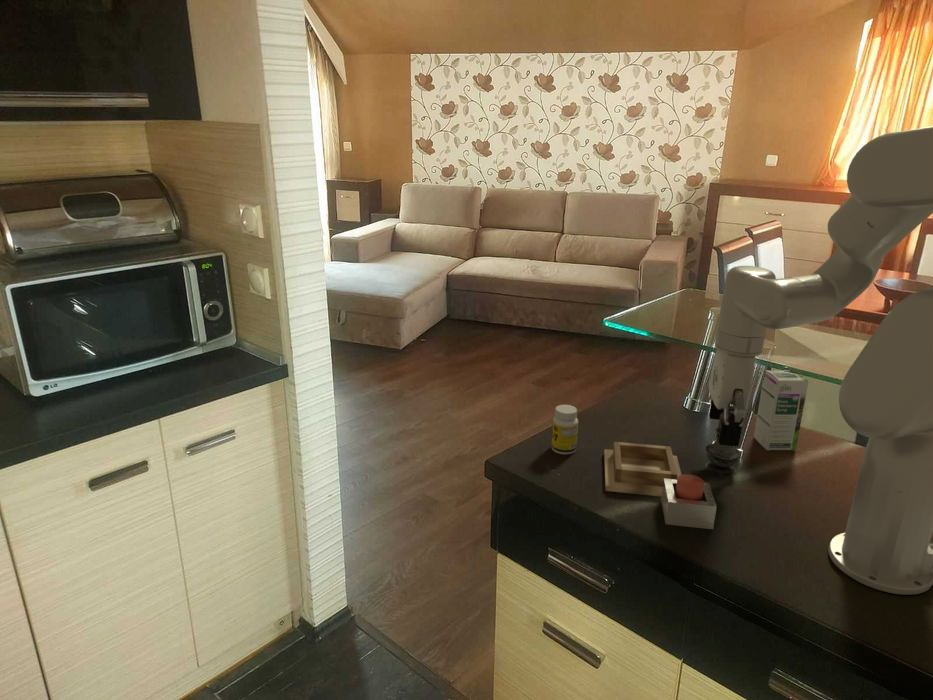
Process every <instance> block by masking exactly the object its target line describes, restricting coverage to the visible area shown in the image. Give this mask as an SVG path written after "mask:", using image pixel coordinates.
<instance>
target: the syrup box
mask: <svg viewBox="0 0 933 700" xmlns="http://www.w3.org/2000/svg"><path fill="white" fill-rule="evenodd" d="M765 371H766V373H765V377H764V376H763V377H764V380H763V379H762V385H761V390H760V397H759V403H758V404H759V405H758V409H757V415H756V420H755V421H756V422H755V428H754V435H753V438H754V439H755V440H756V441H757V442H758V443H759V444H760V445H761V447H762V448H764V450H766V451H768V452H769V451H796V450H797V444H798V439H799V433H800V429H801V423H802V419H803V415H804V414H803V412H804V410H805V409H804V408H805V402H806V397H807V392H808V386H809V380H808V378H807V377H805V376H804V375H802V374H801V375H802V376H801V375H797V374H793V373H789V372H784V371H785V370H770V369H769V370H765Z"/></svg>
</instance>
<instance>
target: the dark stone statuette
mask: <svg viewBox="0 0 933 700" xmlns="http://www.w3.org/2000/svg"><path fill="white" fill-rule="evenodd" d="M732 414H734V412H732V411H729V417H730V416H731V415H732ZM722 422H724V412H723V413H722V414H721V415H720V419H719V420H718V427H717V428H715V433H716V437H715V441H714V443H710V444H708V445H707V446H706V447H705V451H706V456H707V458H708V461H706V462H705V464H704V468H705V470H706V471H707V472H709V473H711V475H716V476H718V477H731V476H734V475H736V474H737V469H736V467H734V465H735V464H736V463H737V462H738V461H739V458H741V455H742V454H741V451H740V450H739V449H738V448H736V446H728V445H720V444H719V442H718V441H719V435H720V430H721V424H722Z"/></svg>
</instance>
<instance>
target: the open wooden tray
mask: <svg viewBox="0 0 933 700" xmlns="http://www.w3.org/2000/svg"><path fill="white" fill-rule="evenodd" d="M671 447H672V446H668V445H667V446H666V445H657V444H655V445H654V444H646V443H645V444H643V443H633V442H632V443H631V442H622V441H613V449H607V448H605V449H603V450H604V451H603V462H604V491H605V492H614V493H615V492H616V493H622V494H623V493H624V494H632V495H633V494H634V495H635V494H636V495H644V496H653V497H662V489H663V481H664V478H665V479H675V480H677V478H678V477H679V476H680V475H682V472H681V467H680V463H679V459H678V456H677V455H674V454H673V451H672V448H671Z"/></svg>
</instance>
